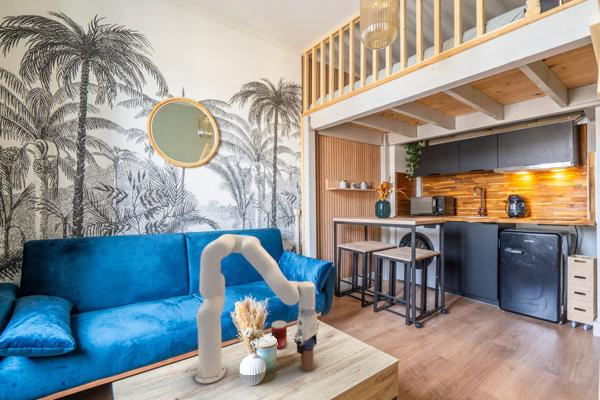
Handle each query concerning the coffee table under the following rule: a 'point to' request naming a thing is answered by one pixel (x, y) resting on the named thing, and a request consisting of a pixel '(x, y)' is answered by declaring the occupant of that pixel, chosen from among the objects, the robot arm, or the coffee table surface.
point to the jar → (307, 360)
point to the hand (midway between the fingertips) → (307, 348)
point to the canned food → (280, 333)
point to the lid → (308, 344)
